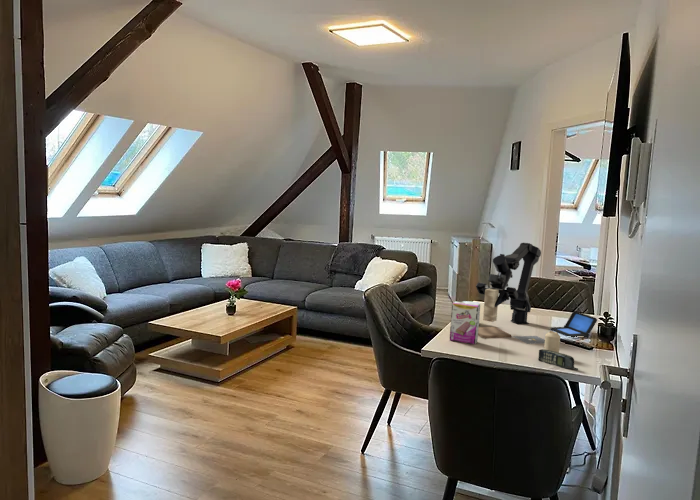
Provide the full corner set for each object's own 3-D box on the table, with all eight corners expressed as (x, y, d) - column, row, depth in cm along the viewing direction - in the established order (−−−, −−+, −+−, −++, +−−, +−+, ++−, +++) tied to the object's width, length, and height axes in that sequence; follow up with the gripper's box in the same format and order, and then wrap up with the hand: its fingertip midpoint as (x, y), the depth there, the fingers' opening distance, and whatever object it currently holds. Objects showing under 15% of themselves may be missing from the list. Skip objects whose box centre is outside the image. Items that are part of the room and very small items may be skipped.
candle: (541, 354, 213) (543, 329, 212) (554, 354, 213) (556, 330, 212) (547, 358, 207) (549, 333, 206) (561, 358, 208) (563, 333, 207)
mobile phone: (537, 349, 204) (575, 358, 192) (542, 347, 206) (579, 356, 194) (537, 361, 204) (575, 371, 193) (541, 360, 206) (579, 370, 195)
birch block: (496, 320, 242) (498, 289, 240) (492, 321, 238) (494, 291, 236) (487, 318, 244) (489, 288, 243) (483, 320, 241) (485, 289, 239)
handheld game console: (549, 330, 255) (551, 311, 254) (572, 329, 259) (573, 310, 258) (572, 339, 240) (574, 319, 239) (596, 338, 244) (598, 318, 243)
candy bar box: (449, 340, 227) (451, 302, 226) (452, 338, 232) (454, 301, 230) (475, 344, 223) (478, 306, 221) (477, 342, 227) (480, 304, 225)
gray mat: (536, 336, 242) (536, 335, 242) (552, 343, 230) (552, 343, 230) (512, 336, 239) (512, 336, 239) (527, 344, 227) (527, 343, 227)
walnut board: (495, 329, 251) (495, 327, 250) (511, 337, 237) (511, 334, 237) (468, 330, 247) (468, 327, 247) (482, 338, 234) (482, 335, 234)
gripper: (479, 265, 248) (466, 291, 241) (517, 270, 236) (504, 297, 229) (485, 280, 255) (473, 306, 248) (523, 285, 243) (511, 313, 236)
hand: (490, 305), depth 240 cm, fingers closed on birch block, 5 cm apart
